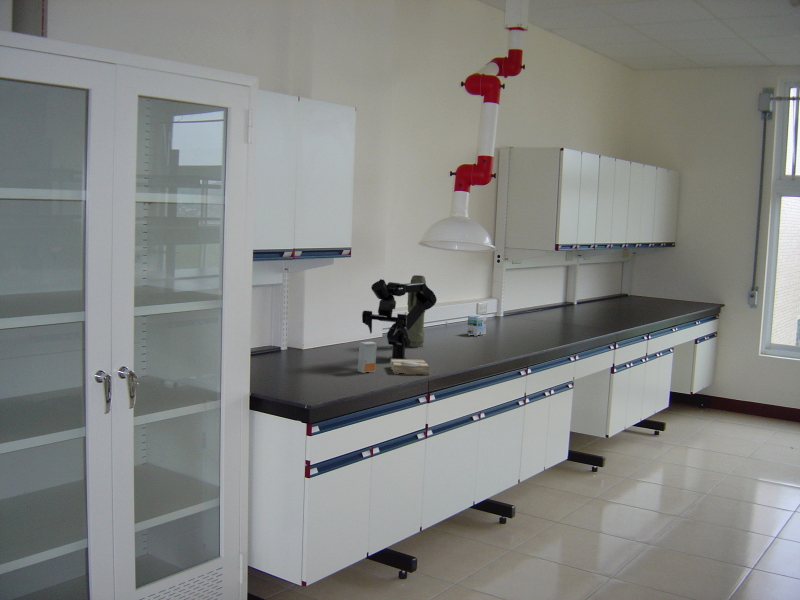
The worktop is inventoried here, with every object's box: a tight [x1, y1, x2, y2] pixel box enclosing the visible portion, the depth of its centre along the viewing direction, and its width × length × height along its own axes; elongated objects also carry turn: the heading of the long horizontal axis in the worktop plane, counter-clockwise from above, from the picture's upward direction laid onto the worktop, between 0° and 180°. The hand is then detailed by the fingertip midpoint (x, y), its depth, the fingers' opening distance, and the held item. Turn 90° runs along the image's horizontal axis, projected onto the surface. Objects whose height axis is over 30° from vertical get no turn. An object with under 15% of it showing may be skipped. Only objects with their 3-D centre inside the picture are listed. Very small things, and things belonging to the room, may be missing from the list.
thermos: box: [407, 274, 427, 348], centre depth 367 cm, size 9×12×35 cm
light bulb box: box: [466, 314, 488, 335], centre depth 417 cm, size 11×7×11 cm, turn 147°
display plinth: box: [389, 358, 430, 376], centre depth 308 cm, size 15×14×4 cm
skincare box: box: [357, 341, 378, 374], centre depth 301 cm, size 6×4×12 cm
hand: (381, 334), depth 310 cm, fingers open, 9 cm apart
